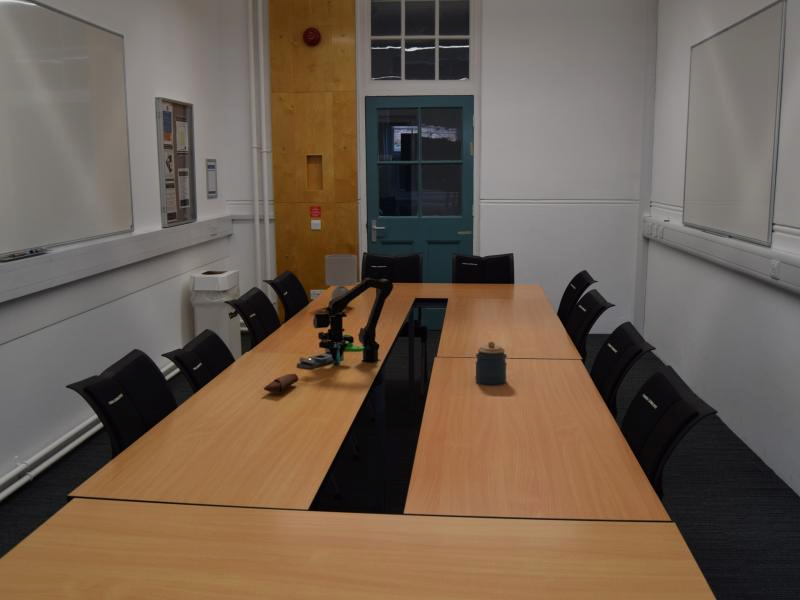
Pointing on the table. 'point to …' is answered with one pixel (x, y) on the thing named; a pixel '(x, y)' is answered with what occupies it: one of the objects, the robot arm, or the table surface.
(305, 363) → the lower chain end
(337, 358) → the pin
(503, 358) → the canister
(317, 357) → the plate
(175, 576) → the table surface
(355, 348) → the mechanical part
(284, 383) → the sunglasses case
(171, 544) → the table surface
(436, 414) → the table surface
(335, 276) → the lamp
